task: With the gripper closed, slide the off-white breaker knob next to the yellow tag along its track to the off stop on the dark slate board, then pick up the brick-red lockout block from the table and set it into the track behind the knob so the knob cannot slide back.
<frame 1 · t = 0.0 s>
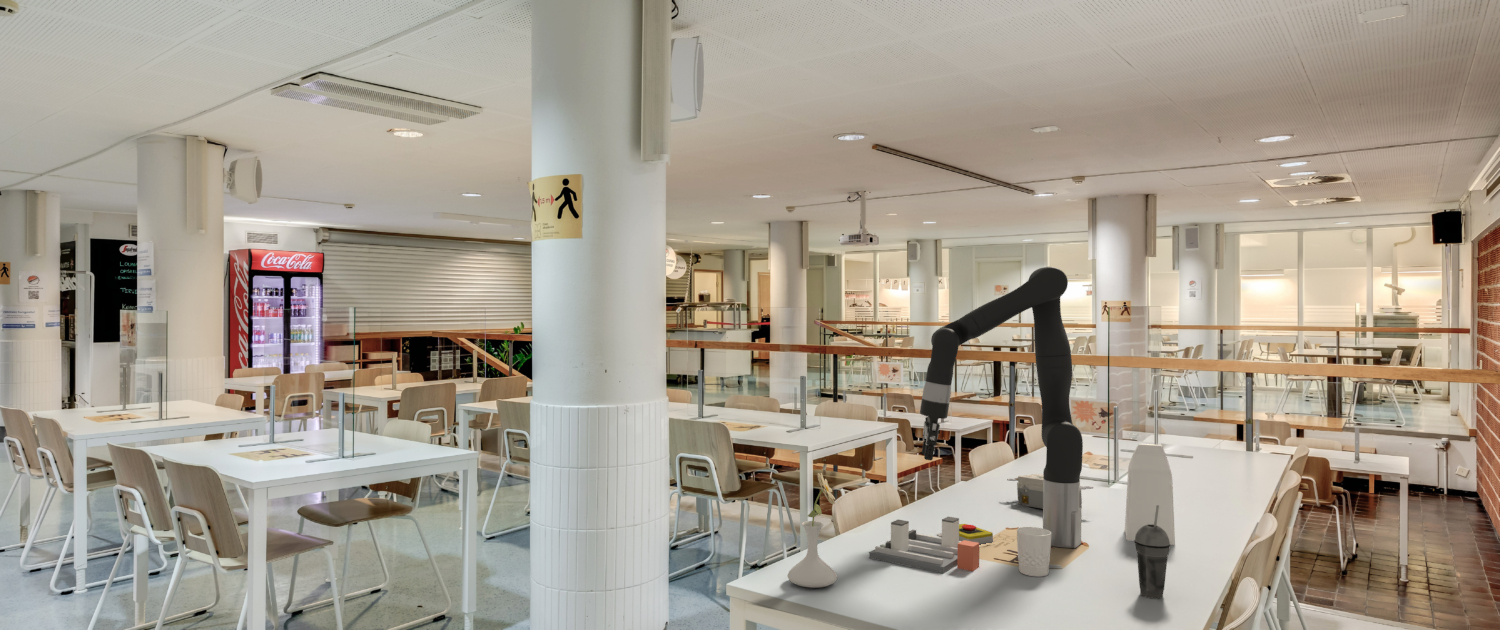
hand: (926, 457, 229), 22 cm above the table, fingers open, 8 cm apart
white cup: (1033, 573, 199), on the table
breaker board: (924, 555, 213), on the table
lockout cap: (968, 567, 203), on the table
flower in vase: (813, 583, 190), on the table
grey labelled box: (1048, 508, 266), on the table
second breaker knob: (899, 536, 210), point 5 cm above the table, slide at 9.0 cm
milk: (1149, 538, 232), on the table
beverage cup: (1151, 595, 184), on the table
emergency button: (966, 541, 228), on the table
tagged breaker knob: (950, 533, 214), point 5 cm above the table, slide at 0.0 cm
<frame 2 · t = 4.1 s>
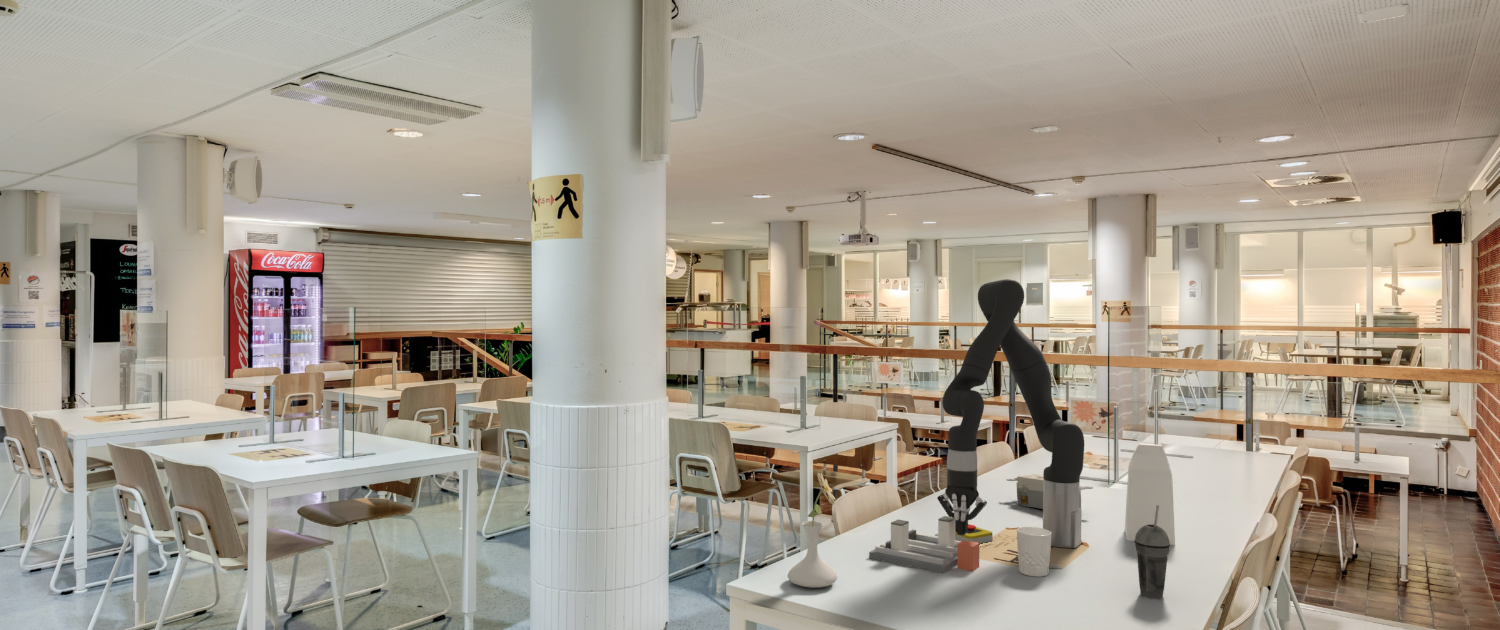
hand: (961, 534, 212), 6 cm above the table, fingers closed
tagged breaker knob: (946, 532, 214), point 5 cm above the table, slide at 1.0 cm, touching gripper
everything else where it was.
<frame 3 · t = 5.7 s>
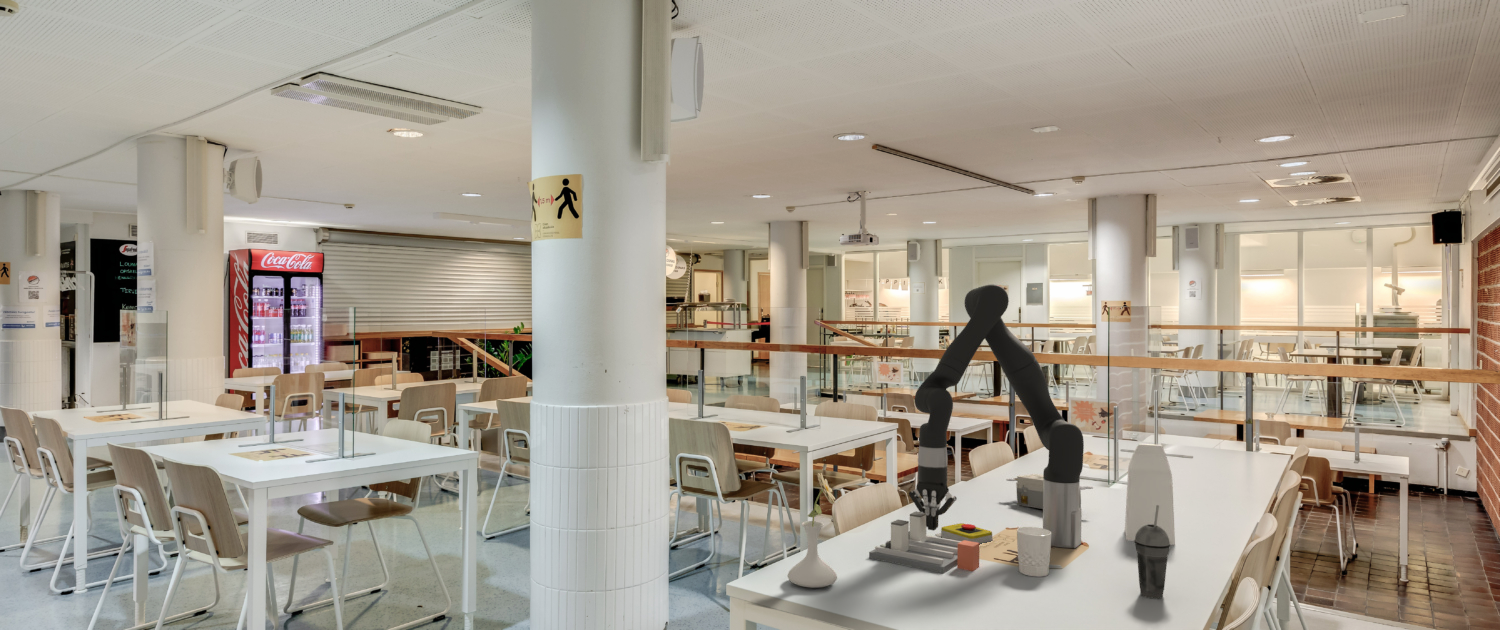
hand: (932, 529, 217), 6 cm above the table, fingers closed
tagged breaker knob: (918, 527, 219), point 5 cm above the table, slide at 9.0 cm, touching gripper
everything else where it was.
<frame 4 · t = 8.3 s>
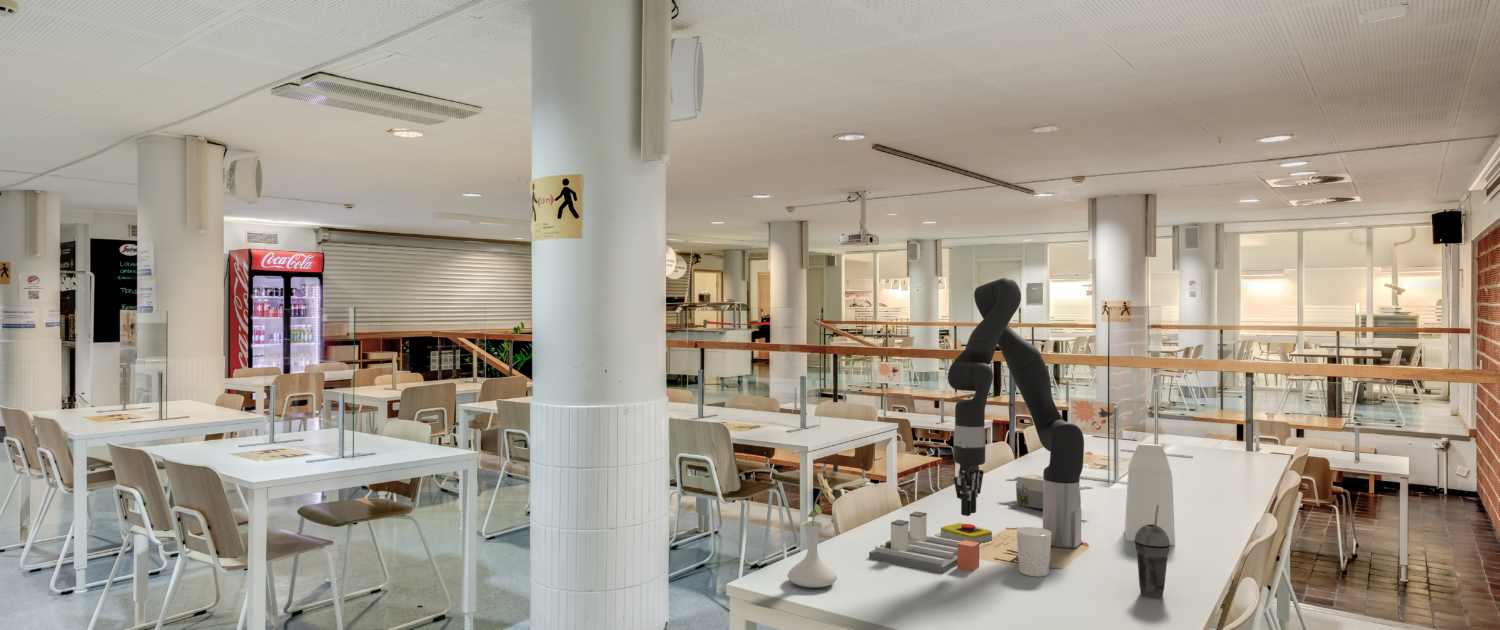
hand: (968, 513, 203), 13 cm above the table, fingers open, 3 cm apart
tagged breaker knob: (918, 527, 219), point 5 cm above the table, slide at 9.0 cm
everything else where it was.
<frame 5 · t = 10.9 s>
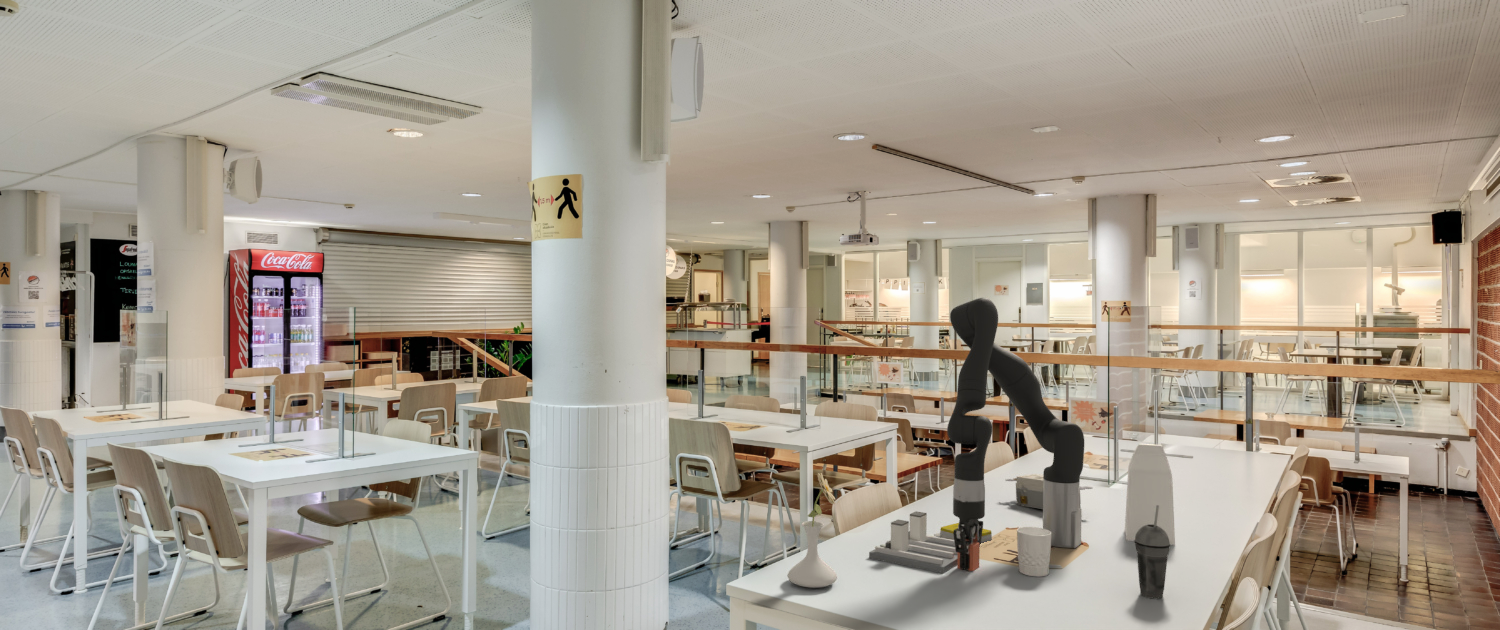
hand: (968, 566, 203), 0 cm above the table, fingers closed on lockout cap, 4 cm apart
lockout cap: (968, 567, 203), on the table, touching gripper
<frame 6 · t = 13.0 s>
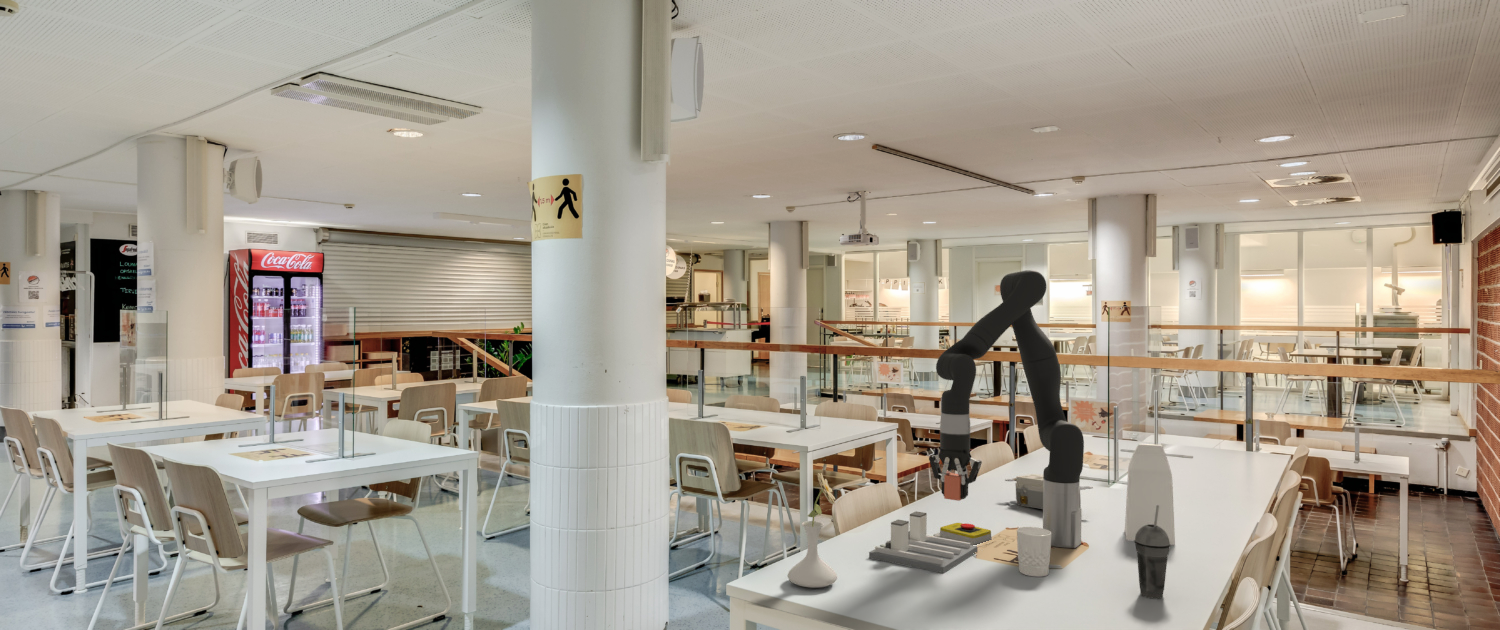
hand: (954, 496, 213), 15 cm above the table, fingers closed on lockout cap, 4 cm apart
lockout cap: (954, 498, 213), point 15 cm above the table, touching gripper
when the fingers open (3 cm above the table, at t = 15.5 s): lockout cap drops 1 cm, resting on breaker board.
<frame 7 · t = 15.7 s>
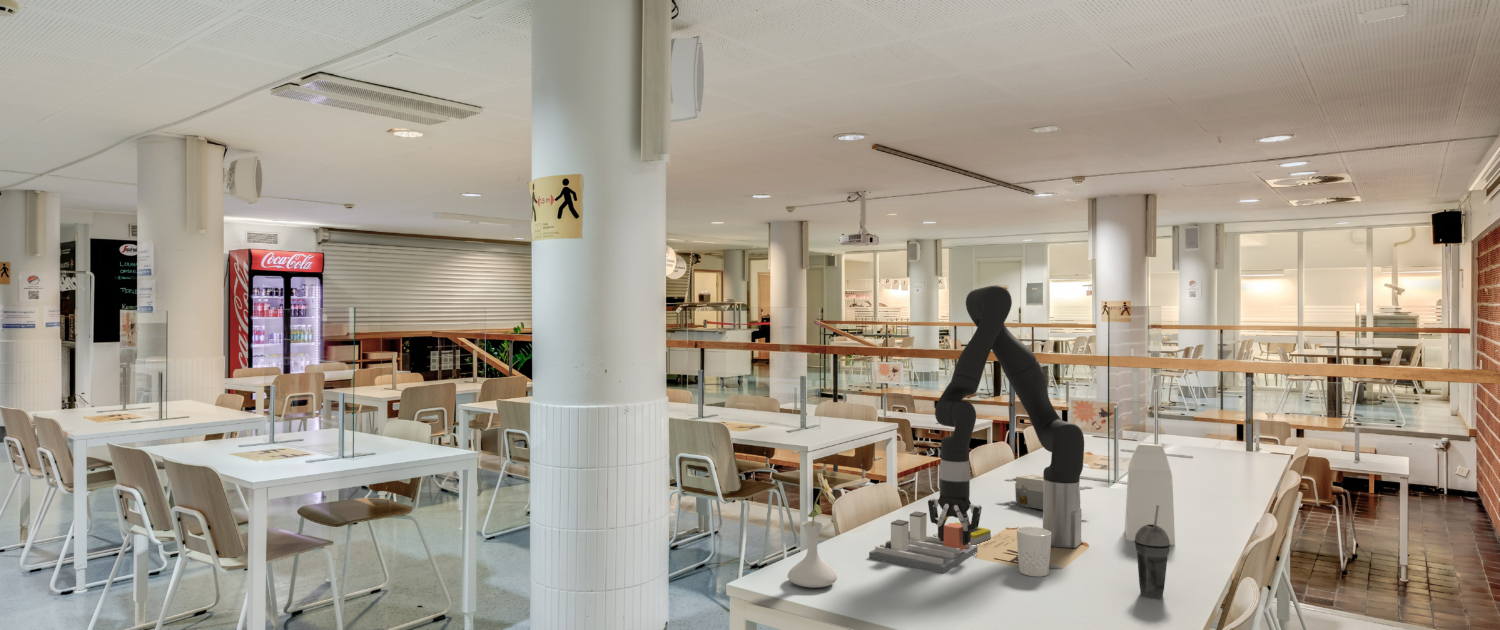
hand: (954, 542, 213), 3 cm above the table, fingers open, 5 cm apart
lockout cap: (954, 548, 213), point 1 cm above the table, touching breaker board
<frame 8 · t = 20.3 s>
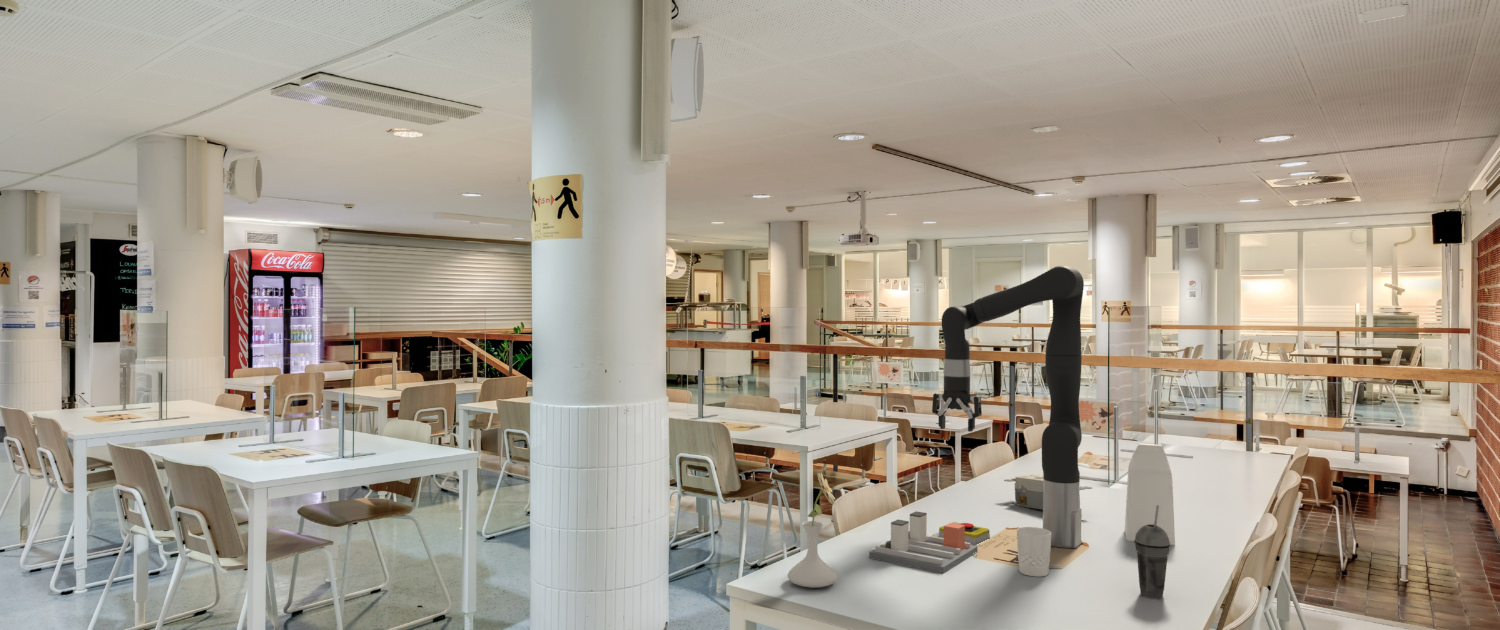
hand: (956, 429, 242), 28 cm above the table, fingers open, 8 cm apart
at the end: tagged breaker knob slide at 9.0 cm; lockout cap inside the target area (1.0 cm from its centre), point 1.5 cm above the table; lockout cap tilted 0° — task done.
